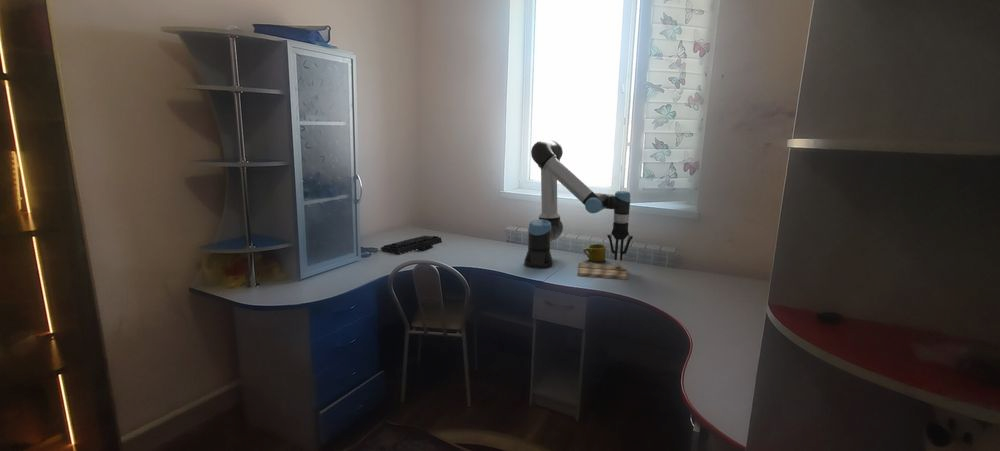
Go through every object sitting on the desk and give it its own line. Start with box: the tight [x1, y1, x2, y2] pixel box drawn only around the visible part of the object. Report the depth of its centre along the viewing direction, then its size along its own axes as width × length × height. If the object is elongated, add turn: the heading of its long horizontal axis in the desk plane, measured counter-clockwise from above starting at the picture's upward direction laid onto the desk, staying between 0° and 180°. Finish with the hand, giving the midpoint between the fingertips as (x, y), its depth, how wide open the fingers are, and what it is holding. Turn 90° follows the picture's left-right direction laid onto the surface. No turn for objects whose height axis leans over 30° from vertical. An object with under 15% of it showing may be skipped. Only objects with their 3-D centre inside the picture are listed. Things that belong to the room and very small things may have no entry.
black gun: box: [380, 235, 442, 255], centre depth 284 cm, size 37×22×5 cm, turn 145°
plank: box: [577, 262, 627, 272], centre depth 247 cm, size 24×7×2 cm, turn 79°
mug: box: [582, 243, 606, 263], centre depth 264 cm, size 12×10×10 cm
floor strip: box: [577, 267, 628, 280], centre depth 239 cm, size 24×9×2 cm, turn 79°
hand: (617, 266), depth 247 cm, fingers closed
